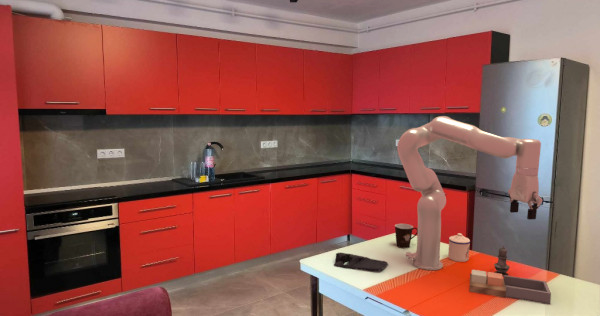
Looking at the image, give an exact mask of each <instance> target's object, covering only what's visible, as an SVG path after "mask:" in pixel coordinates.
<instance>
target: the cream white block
mask: <svg viewBox="0 0 600 316" xmlns="http://www.w3.org/2000/svg"><path fill="white" fill-rule="evenodd" d="M471 274H472V276H471V282H475V283H482V284H486V276H487V271H485V270H479V269H471Z"/></svg>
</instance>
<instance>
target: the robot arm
mask: <svg viewBox="0 0 600 316" xmlns="http://www.w3.org/2000/svg"><path fill="white" fill-rule="evenodd" d="M440 139H442V140H443V139H444V140H448V141H451V142H453V143H457V144H459V145H462V146H466V147H468V148H470V149H474V150H476V151H479V152H482V153H485V154H487V155H491V156H493V157H497V158H500V159H510V158H511V157H514V156H515V157H516V162H515V173H513V176H512V179H511V184H510V188H509V189H508V190H507V192H508V198H509V202H510V204H509V205H510V206H509V213H513V214H514V213H518V212H519V208H520V207H519V205H520V202H521V203H525V204H527V205H528V209H527V214H526V215H527V216H526V218H527V220H536V219H537V213H538V212H537V211H538V210H539V208H540V207H541V204H542V202H543V198H541V197H540V195H539V189H540V188H539V187H540V186H539V168H540V167H539V166H540V160H541V159H540V157H541V148H542V143H541V141H540V140H539V139H535V138H517V137H511V136H504V137H503V136H499V135H496V134H493V133H489V132H486V131H484V130H481V129H480V128H478V126H475V125H474V124H469V123H466V122H462V121H459V120H455V119H453V118H451V117H450V116H446V115H441V116H440V115H439V116H437V117H434V118H433V119H432V120H431V121H429V122H428V123H426V124H423V125H421V126H419V127H412V128H409V129H407V130H406V131H405V132H404V133H402V135H400V138H399V140H398V142H397V147H396V148H397V149H396V150H397V154H398V158H399V160H400V162H401V164H402V166H403V169H404V172H405V174H406V177H407V180H408V181H409V184H410V187H411V188H412V189H413V190H414V191H416V192H418V193H419V192H420V194H421V196H420V198H419V199H418V202H417V204H416V205H417V206H416V207H417V229H418V233H417V235H416V236H417V238H416V252H409V251H408V252H406V253H405V257H406V258H408V259H412V265H414V266H415V267H416V268H418V269H421V270H427V271H437V270H441V269H442V268H443V267H444V264H443V261H441V260H440V255H441V252H440V251H441V237H442V236H441V235H442V234H441V232H442V216H441V215H442V210H443V209H444V208H445V207H446V204H447V198H446V194H445V192H444V189H443V187H442V185H441V183H440V180H439V178H438V176H437V174H436V172H435V171H434V170H433V169H431V168H430V167H426V166H425V163H424V160H423V158H422V157H421V155H420V153H419V151H418V149H419V148H421V147H424V146H426V145H429V144H431V143H434V142H436V141H438V140H440Z"/></svg>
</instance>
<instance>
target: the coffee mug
mask: <svg viewBox="0 0 600 316" xmlns="http://www.w3.org/2000/svg"><path fill="white" fill-rule="evenodd" d="M413 230H416V233H415V234H414V235H412V234H413ZM394 231H395V242H396V247H397V248H399V249H400V248H401V249H408V248H410V246H411V242H412V239H414V238H415V237H416V236H417V235H418V227H414V226H413V225H412V224H407V223H396V224H394Z"/></svg>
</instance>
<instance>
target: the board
mask: <svg viewBox="0 0 600 316" xmlns="http://www.w3.org/2000/svg"><path fill="white" fill-rule="evenodd" d="M471 276H472V272H471V273H469V292H470V293H476V294H481V295H482V294H483V295H487V296H493V297H494V296H495V297H499V298H500V297H501V298H507V297H506V288H505V283H504V277H503V284H502V287H501V286H495V285H488V284H487V275H486V284H482V283H475V282H471Z"/></svg>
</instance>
